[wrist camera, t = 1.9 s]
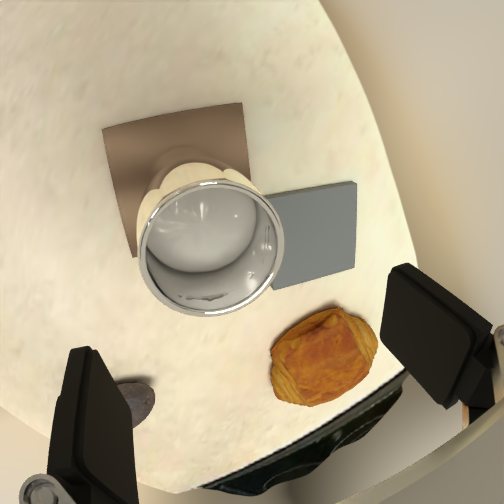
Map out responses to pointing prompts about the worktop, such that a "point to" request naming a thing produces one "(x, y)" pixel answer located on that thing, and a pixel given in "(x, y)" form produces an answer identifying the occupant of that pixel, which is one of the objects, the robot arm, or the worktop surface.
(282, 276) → the rubber mat
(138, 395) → the perforated stone tool
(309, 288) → the worktop surface
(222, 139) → the dot tile
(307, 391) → the croissant
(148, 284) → the beer glass
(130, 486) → the robot arm
